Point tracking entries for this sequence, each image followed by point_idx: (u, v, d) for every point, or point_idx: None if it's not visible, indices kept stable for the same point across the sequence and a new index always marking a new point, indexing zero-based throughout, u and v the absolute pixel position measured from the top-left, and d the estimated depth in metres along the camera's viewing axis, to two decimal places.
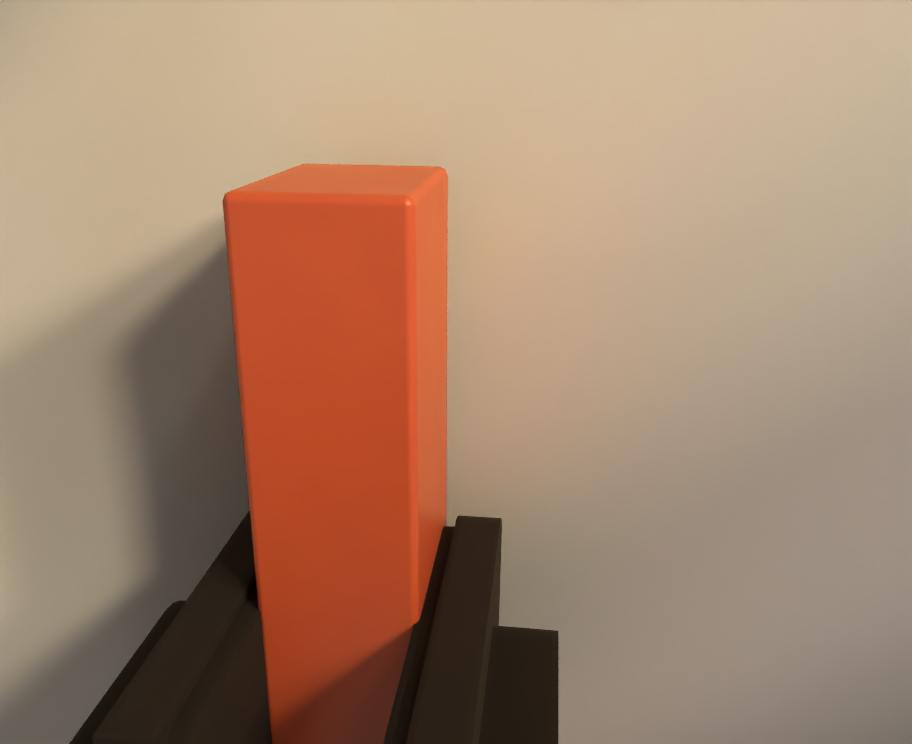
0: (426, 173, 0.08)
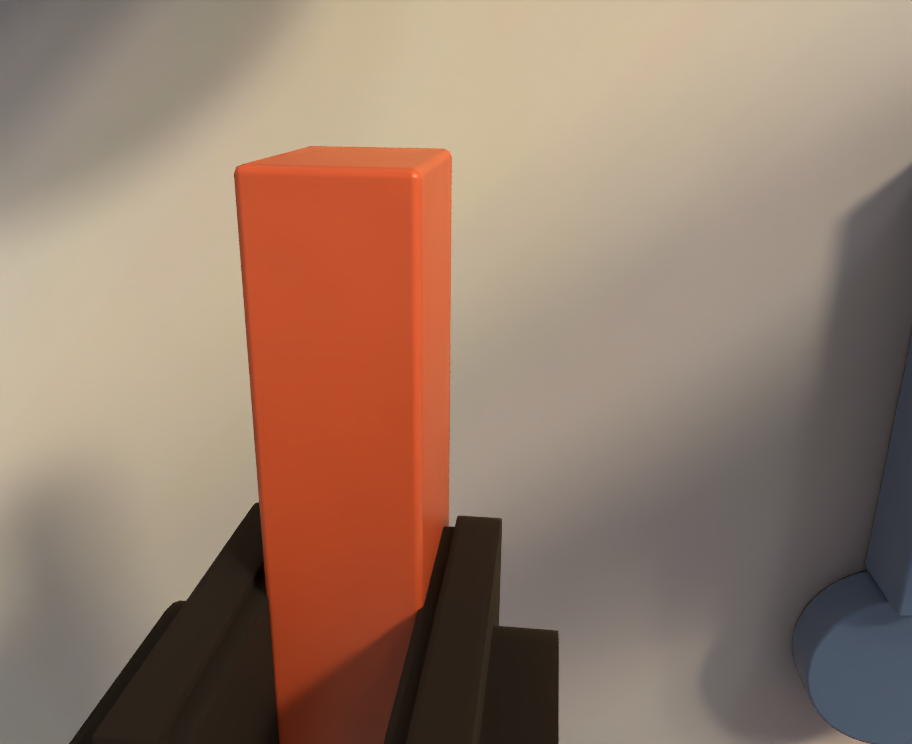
0: (431, 153, 0.08)
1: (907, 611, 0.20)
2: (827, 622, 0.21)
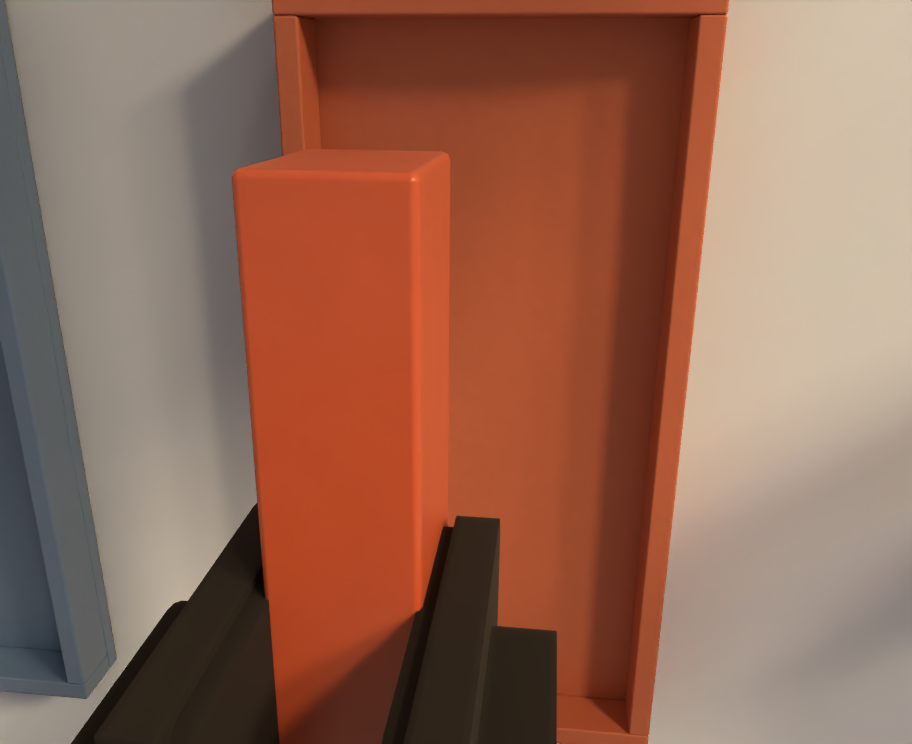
0: (430, 156, 0.08)
1: None
2: None
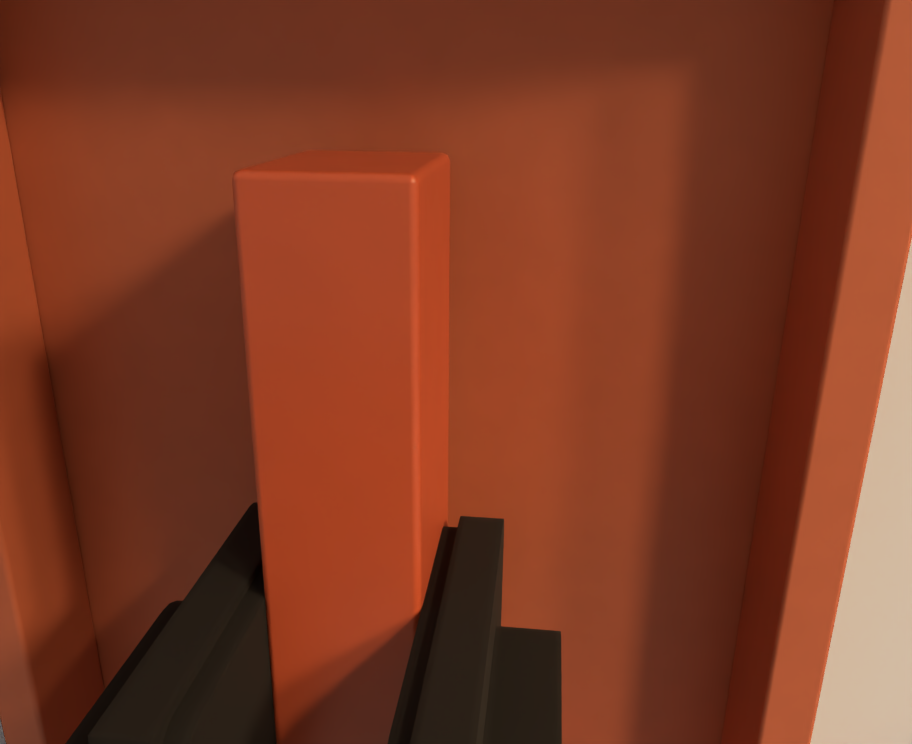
0: (429, 157, 0.08)
1: None
2: None
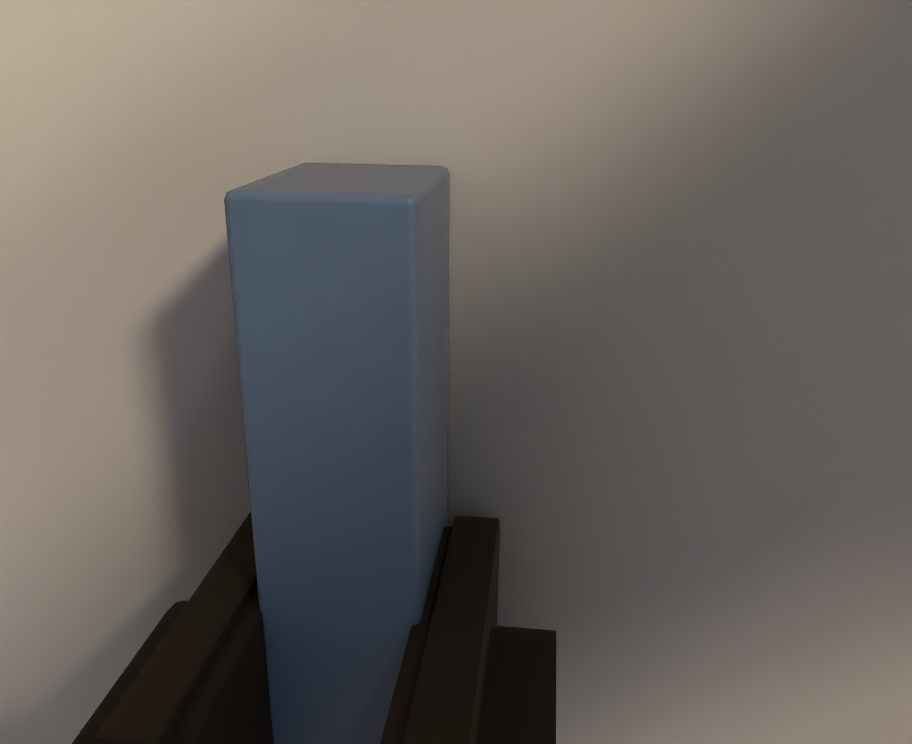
0: None
1: None
2: None
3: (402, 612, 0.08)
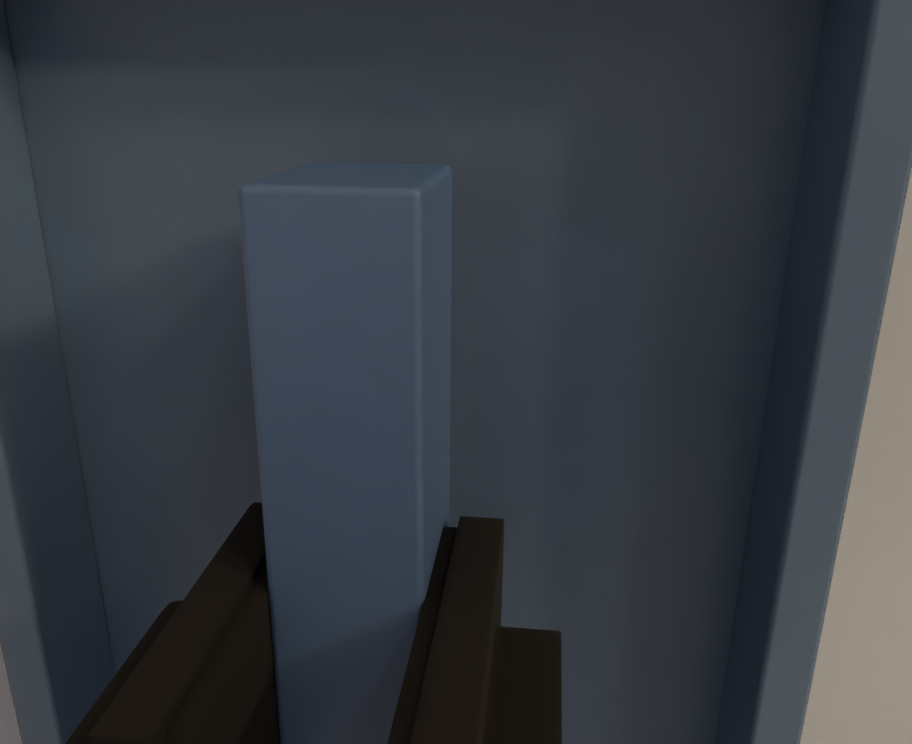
0: None
1: None
2: None
3: (407, 593, 0.08)
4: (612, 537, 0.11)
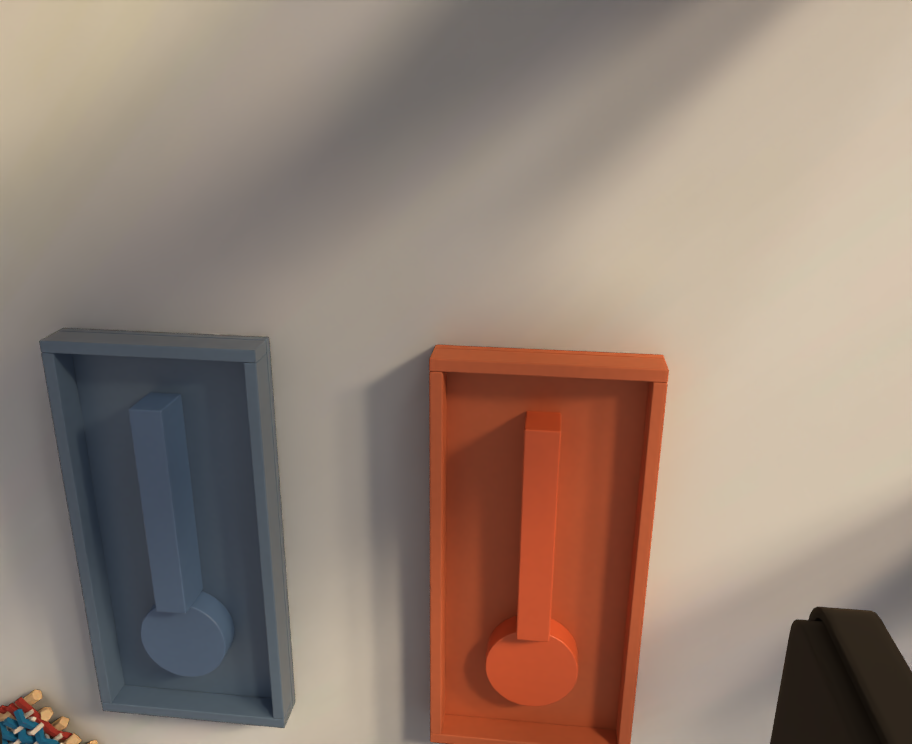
0: (558, 417, 0.37)
1: (159, 609, 0.42)
2: None
3: (167, 487, 0.39)
4: (232, 486, 0.41)
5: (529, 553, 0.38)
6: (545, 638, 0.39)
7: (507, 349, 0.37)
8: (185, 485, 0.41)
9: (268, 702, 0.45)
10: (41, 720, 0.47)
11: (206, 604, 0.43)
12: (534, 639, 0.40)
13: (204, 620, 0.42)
